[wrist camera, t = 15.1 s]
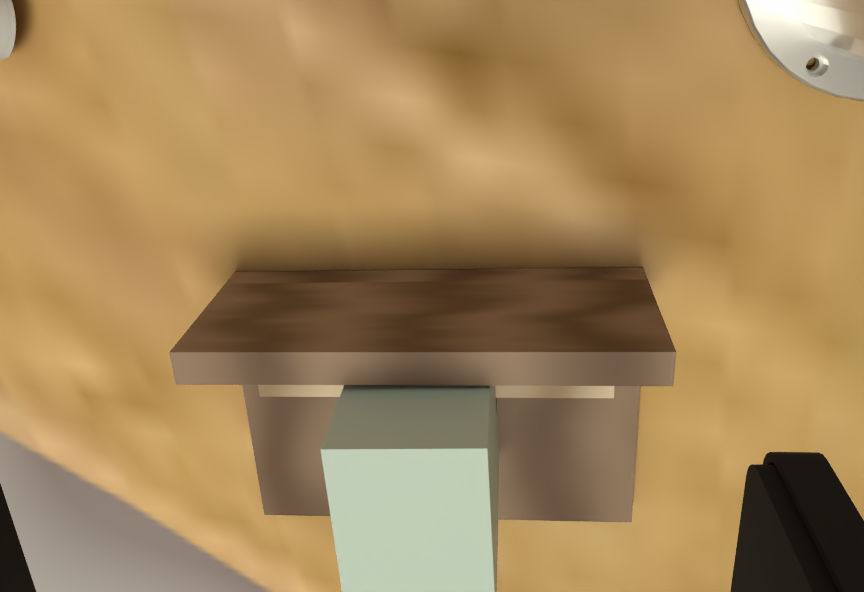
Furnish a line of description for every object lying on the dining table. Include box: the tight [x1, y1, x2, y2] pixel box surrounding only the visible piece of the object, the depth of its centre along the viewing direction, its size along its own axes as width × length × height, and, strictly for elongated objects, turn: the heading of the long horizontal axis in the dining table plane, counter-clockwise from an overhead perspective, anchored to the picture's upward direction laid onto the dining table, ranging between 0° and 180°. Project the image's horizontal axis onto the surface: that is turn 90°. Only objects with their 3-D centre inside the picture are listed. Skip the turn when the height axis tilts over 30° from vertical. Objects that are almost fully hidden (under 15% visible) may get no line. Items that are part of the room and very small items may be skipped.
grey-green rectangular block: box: [320, 385, 500, 592], centre depth 35 cm, size 6×9×11 cm
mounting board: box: [169, 267, 676, 522], centre depth 38 cm, size 20×14×8 cm
